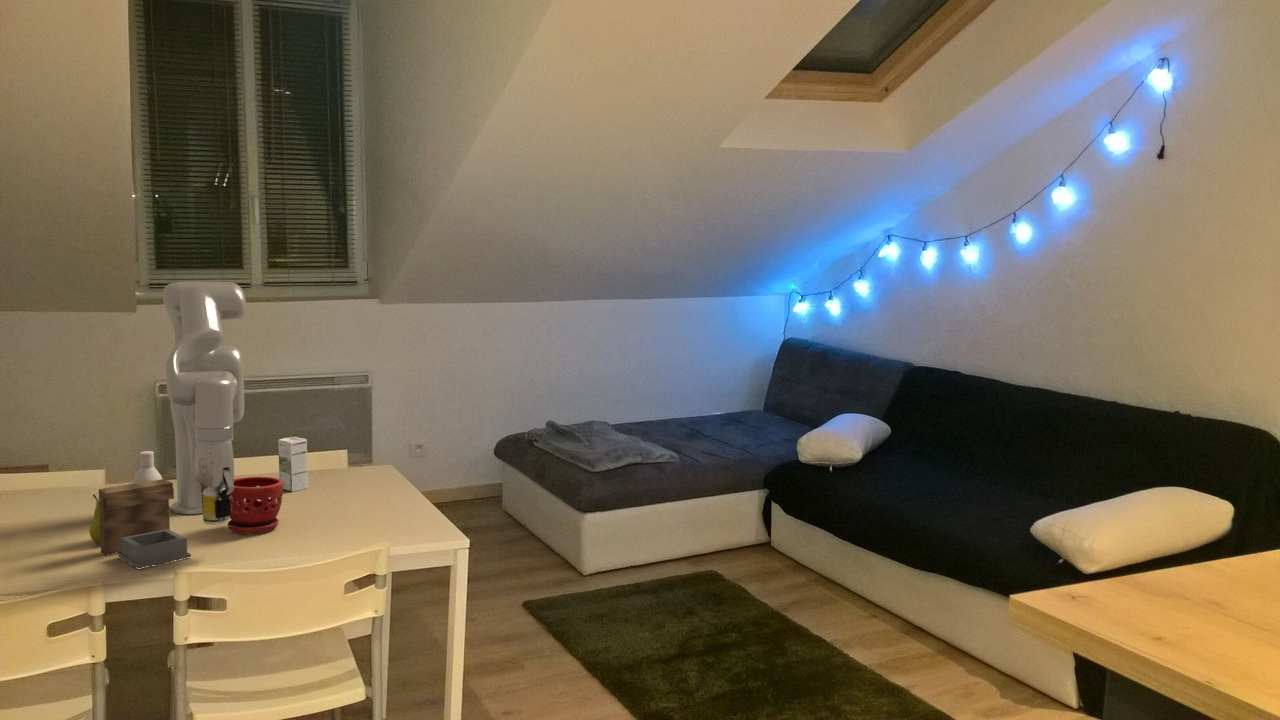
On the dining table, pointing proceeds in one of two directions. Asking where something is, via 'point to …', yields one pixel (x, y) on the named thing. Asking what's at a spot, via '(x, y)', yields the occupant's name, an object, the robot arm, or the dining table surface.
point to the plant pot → (255, 504)
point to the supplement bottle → (211, 507)
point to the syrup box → (293, 463)
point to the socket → (153, 548)
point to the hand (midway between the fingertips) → (216, 512)
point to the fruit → (95, 524)
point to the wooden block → (133, 511)
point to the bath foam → (146, 469)
